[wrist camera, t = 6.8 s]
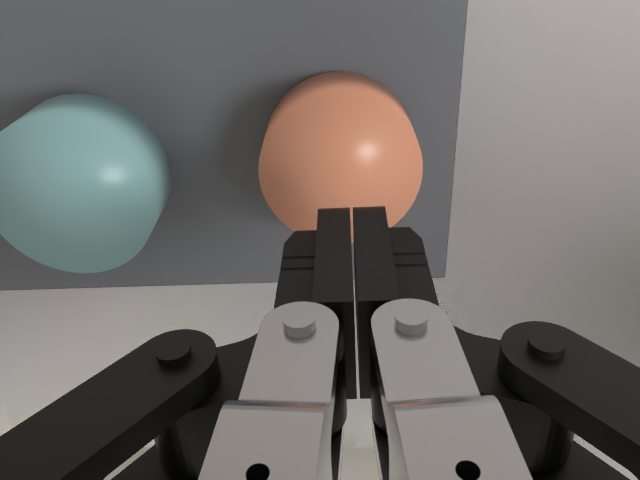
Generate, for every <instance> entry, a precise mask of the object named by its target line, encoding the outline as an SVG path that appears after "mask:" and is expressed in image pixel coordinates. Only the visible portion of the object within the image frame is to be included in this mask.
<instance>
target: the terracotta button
mask: <svg viewBox="0 0 640 480" xmlns="http://www.w3.org/2000/svg"><path fill="white" fill-rule="evenodd" d="M258 172H259V181H260V187H261V190H262V193H263V196H264V198H265V200H266V202H267V204H268V206H269V207H270V209H271V210H272V212H273V213H274V214H275V215H276V216H277V217H278V219H279V220H280V221H282V222H283V223H284V224H285V225H286V226H287V227H289V228H290V229H292V230H293V231H304V230H317V215H318V209H320V208H347V207H350V223H351V243H354V239H353V207H372V206H385V210H386V216H387V222H388V227H392V226H393V225H395V224H396V223H397V222H398V221H399V220H400V219H401V218H402V217H403V216H404V215H405V214H406V213H407V211H408V210H409V209H410V207H411V206H412V204H413V202H414V201H415V199H416V196H417V194H418V192H419V189H420V185H421V181H422V174H423V160H422V154H421V149H420V146H419V143H418V140H417V137H416V135H415V132H414V129H413V126H412V124H411V121H410V118H409V116H408V114H407V112H406V110H405V107H404V106H403V104H402V103H401V101H400V100H399V99H398V98H397V97H396V95H395V94H394V93H393V92H392V91H391V90H389V89H388V88H387V87H386V86H385V85H383V84H381V83H380V82H378V81H377V80H374V79H372V78H370V77H368V76H365V75H361V74H358V73H352V72H328V73H323V74H319V75H316V76H313V77H310V78H308V79H306V80H304V81H302V82H300V83H299V84H297V85H296V86H294V87H293V88H292V89H290V90H289V91H288V92H287V93H286V94H285V95H284V96H283V97H282V99H281V100H280V101H279V102H278V104H277V105H276V107H275V109H274V110H273V112H272V114H271V117H270V119H269V122H268V126H267V129H266V133H265V137H264V141H263V145H262V149H261V153H260V156H259V165H258Z"/></svg>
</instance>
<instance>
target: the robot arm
mask: <svg viewBox="0 0 640 480" xmlns="http://www.w3.org/2000/svg"><path fill="white" fill-rule="evenodd" d="M353 239H354V273H355V299H356V320H357V341H358V363H359V384H360V399H363V398H371V406H372V435H373V442H374V448H375V454H376V460H377V466H378V472H379V479H380V480H630V479H628V478H627V477H626V476H624V475H622V474H621V473H620V472H618V471H617V470H615V469H614V468H613V467H611V466H610V465H608V464H607V463H605V462H604V461H602V460H601V459H600V458H598V457H597V456H595V455H594V454H592V453H591V452H589V451H588V450H587V449H585V448H584V447H582V446H581V445H579V444H578V443H576V442H575V441H573V438H574V434H576V435H578V436H579V437H581V438H582V439H584V440H585V441H587V442H588V443H590V444H591V445H593V446H594V447H596V448H597V449H598V450H600V451H602V452H603V453H604V454H606V455H607V456H609V457H610V458H612V459H613V460H615V461H616V462H618V463H619V464H621V465H622V466H623V467H625V468H626V469H628V470H629V471H630V472H632V473H633V474H634V475H635V476H636V477H637V478H638V480H640V368H639V367H637V366H635V365H633V364H632V363H630V362H628V361H626V360H624V359H622V358H621V357H619V356H617V355H615V354H613V353H611V352H610V351H608V350H606V349H604V348H602V347H600V346H599V345H597V344H595V343H593V342H591V341H589V340H587V339H586V338H584V337H582V336H580V335H578V334H576V333H575V332H573V331H571V330H569V329H567V328H565V327H562V326H559V325H556V324H552V323H547V322H538V321H532V322H523V323H519V324H516V325H514V326H512V327H510V328H509V329H507V330H506V331H505V333H504V334H503V336H502V338H501V340H497V339H492V338H487V337H482V336H477V335H473V334H470V333H467V332H465V331H463V330H461V329H458V328H457V327H455V326H454V325H453V324H452V322H451V319H450V317H449V315H448V314H447V313H446V312H445V311H444V310H443V309H442V308H440V307H439V304H438V300H437V296H436V292H435V288H434V284H433V280H432V276H431V273H430V269H429V266H428V261H427V257H426V255H425V249H424V245H423V241H422V238H421V237H420V236H419V235H418V234H417V233H416V232H414V231H413V230H412V229H411V228H410V227H388V222H387V216H386V210H385V206H372V207H353ZM346 399H357V392H356V358H355V324H354V294H353V270H352V246H351V223H350V207H347V208H320V209H318V215H317V230H304V231H295V232H294V233H293V234H292V235H291V236H290V237H289V238H288V239H287V240H286V242H285V243H284V247H283V254H282V260H281V267H280V273H279V279H278V286H277V292H276V299H275V305H274V309H273V310H272V311H271V312H269V313H268V314H267V315H266V316H265V317H264V319H263V320H262V322H261V325H260V328H259V332H258V333H257V334H256V335H254V336H252V337H250V338H248V339H245V340H243V341H240V342H236V343H232V344H229V345H225V346H221V347H217V348H216V345H215V343H214V341H213V339H212V338H211V337H210V336H208V335H207V334H205V333H203V332H200V331H197V330H190V329H181V330H174V331H169V332H166V333H163V334H160V335H158V336H156V337H154V338H152V339H150V340H149V341H147V342H146V343H144V344H143V345H141V346H139V347H138V348H136V349H135V350H133V351H132V352H130V353H129V354H127V355H125V356H124V357H122V358H121V359H119V360H118V361H116V362H115V363H113V364H112V365H110V366H108V367H107V368H105V369H104V370H102V371H101V372H99V373H98V374H96V375H95V376H93V377H91V378H90V379H88V380H87V381H85V382H84V383H82V384H81V385H79V386H77V387H76V388H74V389H73V390H71V391H70V392H68V393H67V394H65V395H64V396H62V397H60V398H59V399H57V400H56V401H54V402H53V403H51V404H50V405H48V406H47V407H45V408H43V409H42V410H40V411H39V412H37V413H36V414H34V415H33V416H31V417H29V418H28V419H26V420H25V421H23V422H22V423H20V424H19V425H17V426H16V427H14V428H12V429H11V430H9V431H8V432H6V433H5V434H3V435H2V436H0V480H103V479H104V478H105V477H106V476H107V475H108V474H109V473H111V472H112V471H113V470H115V469H116V468H117V467H118V466H120V465H121V464H122V463H124V462H125V461H126V460H127V459H129V458H130V457H131V456H132V455H134V454H135V453H136V452H138V451H139V450H140V449H141V448H143V447H144V446H145V445H147V444H148V443H149V442H150V441H152V440H153V439H154V440H155V445H154V446H153V447H151V448H150V449H149V450H148V451H146V452H145V453H144V454H143V455H141V456H140V457H139V458H138V459H136V460H135V461H134V462H132V463H131V464H130V465H129V466H127V467H126V468H125V469H124V470H122V471H121V472H120V473H119V474H117V475H116V476H115V477H114V478H112V479H111V480H341V479H340V478H341V467H342V454H343V442H344V423H345V420H346V415H347V402H346Z"/></svg>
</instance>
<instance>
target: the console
mask: <svg viewBox="0 0 640 480" xmlns="http://www.w3.org/2000/svg"><path fill="white" fill-rule="evenodd" d="M467 5H468V0H0V132H1V131H2V130H3V129H5V128H6V127H8V126H9V125H10V124H12V123H13V122H15V121H16V120H17V119H19V118H20V117H22V116H23V115H24V114H26V113H27V112H29V111H30V110H31V109H33V108H34V107H36V106H37V105H39V104H40V103H42V102H43V101H45V100H48V99H50V98H53V97H56V96H60V95H65V94H89V95H96V96H99V97H103V98H107V99H109V100H111V101H114V102H116V103H118V104H120V105H122V106H124V107H126V108H128V109H129V110H131V111H132V112H133V113H135V114H136V115H138V116H139V117H140V118H141V119H142V120H143V121H144V122H146V124H147V125H148V126H149V127H150V128H151V129H152V130H153V131H154V133H155V134H156V136H157V137H158V138H159V140H160V142H161V143H162V145H163V147H164V149H165V151H166V154H167V156H168V159H169V163H170V167H171V174H172V186H171V191H170V196H169V199H168V201H167V204H166V205H165V207H164V209H163V211H162V213H161V215H160V217H159V219H158V221H157V223H156V225H155V226H154V228H153V230H152V232H151V234H150V236H149V238H148V240H147V242H146V244H145V245H144V247H143V248H142V249H141V250H140V252H139V253H138V254H137V255H136V256H135V257H134V258H132V259H131V260H129V261H128V262H127V263H125V264H123V265H121V266H119V267H117V268H114V269H111V270H108V271H103V272H98V273H74V272H67V271H62V270H58V269H55V268H52V267H49V266H46V265H44V264H41V263H39V262H37V261H35V260H33V259H31V258H29V257H28V256H26V255H24V254H23V253H22V252H20V251H19V250H17V249H16V248H15V247H14V246H12V245H11V244H10V243H9V242H8V241H7V240H6V239H5V238H4V237H3V236H2V235H1V234H0V290H31V289H65V288H99V287H133V286H167V285H202V284H236V283H270V282H278V279H279V273H280V267H281V260H282V254H283V247H284V243H285V242H286V240H287V239H288V238H289V237H290V236H291V235H292V234H293V233H294V232H295V231H293V230H292V229H290V228H289V227H287V226H286V225H285V224H284V223H283V222H282V221H280V220H279V219H278V217H277V216H276V215H275V214H274V213H273V212H272V210H271V209H270V207H269V206H268V204H267V202H266V200H265V198H264V196H263V193H262V190H261V187H260V181H259V172H258V165H259V156H260V153H261V149H262V145H263V141H264V137H265V133H266V129H267V126H268V122H269V119H270V117H271V114H272V112H273V110H274V109H275V107H276V105H277V104H278V102H279V101H280V100H281V99H282V97H283V96H284V95H285V94H286V93H287V92H288V91H289V90H290V89H292V88H293V87H294V86H296V85H297V84H299V83H300V82H302V81H304V80H306V79H308V78H310V77H313V76H316V75H319V74H323V73H328V72H352V73H358V74H361V75H365V76H368V77H370V78H372V79H374V80H377V81H378V82H380V83H381V84H383V85H385V86H386V87H387V88H388V89H389V90H391V91H392V92H393V93H394V94H395V95H396V97H397V98H398V99H399V100H400V101H401V103H402V104H403V106H404V107H405V110H406V112H407V114H408V116H409V118H410V121H411V124H412V126H413V129H414V132H415V135H416V137H417V140H418V143H419V146H420V149H421V154H422V160H423V174H422V181H421V185H420V189H419V192H418V194H417V196H416V199H415V201H414V202H413V204H412V206H411V207H410V209H409V210H408V211H407V213H406V214H405V215H404V216H403V217H402V218H401V219H400V220H399V221H398V222H397V223H396V224H395V225H393V226H392V227H410V228H411V229H412V230H413V231H414V232H416V233H417V234H418V235H419V236H420V237H421V238H422V241H423V245H424V249H425V255H426V257H427V261H428V266H429V269H430V273H431V276H432V278H440V277H445V269H446V257H447V245H448V233H449V221H450V209H451V197H452V185H453V173H454V161H455V149H456V137H457V125H458V113H459V101H460V89H461V77H462V65H463V53H464V41H465V29H466V17H467ZM351 246H352V270H353V280H355V273H354V243H351Z"/></svg>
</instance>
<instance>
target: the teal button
mask: <svg viewBox="0 0 640 480" xmlns="http://www.w3.org/2000/svg"><path fill="white" fill-rule="evenodd" d="M171 186H172V174H171V167H170V163H169V159H168V156H167V154H166V151H165V149H164V147H163V145H162V143H161V142H160V140H159V138H158V137H157V136H156V134H155V133H154V131H153V130H152V129H151V128H150V127H149V126H148V125H147V124H146V122H144V121H143V120H142V119H141V118H140V117H139V116H138V115H136V114H135V113H133V112H132V111H131V110H129V109H128V108H126V107H124V106H122V105H120V104H118V103H116V102H114V101H111V100H109V99H107V98H103V97H99V96H96V95H89V94H65V95H60V96H56V97H53V98H50V99H48V100H45V101H43V102H42V103H40V104H39V105H37V106H36V107H34V108H33V109H31V110H30V111H29V112H27V113H26V114H24V115H23V116H22V117H20V118H19V119H17V120H16V121H15V122H13V123H12V124H10V125H9V126H8V127H6V128H5V129H3V130H2V131H1V132H0V234H1V235H2V236H3V237H4V238H5V239H6V240H7V241H8V242H9V243H10V244H11V245H12V246H14V247H15V248H16V249H17V250H19V251H20V252H22V253H23V254H24V255H26V256H28V257H29V258H31V259H33V260H35V261H37V262H39V263H41V264H44V265H46V266H49V267H52V268H55V269H58V270H62V271H67V272H74V273H98V272H103V271H108V270H111V269H114V268H117V267H119V266H121V265H123V264H125V263H127V262H128V261H129V260H131V259H132V258H134V257H135V256H136V255H137V254H138V253H139V252H140V250H141V249H142V248H143V247H144V245H145V244H146V242H147V240H148V238H149V236H150V234H151V232H152V230H153V228H154V226H155V225H156V223H157V221H158V219H159V217H160V215H161V213H162V211H163V209H164V207H165V205H166V204H167V201H168V199H169V196H170V191H171Z"/></svg>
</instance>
